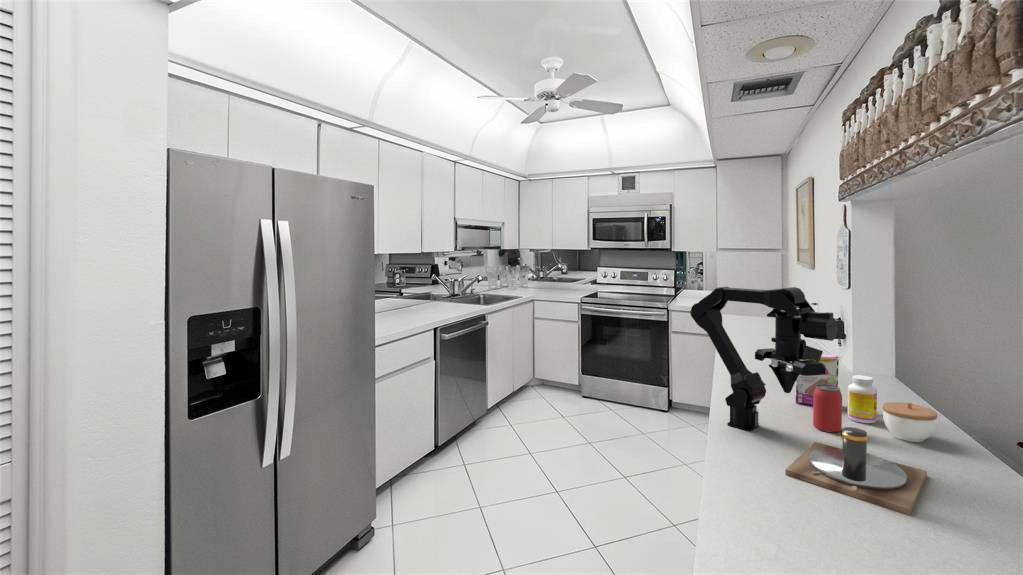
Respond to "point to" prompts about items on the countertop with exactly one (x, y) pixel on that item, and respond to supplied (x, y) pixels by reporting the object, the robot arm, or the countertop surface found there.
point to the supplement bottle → (862, 400)
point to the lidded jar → (909, 421)
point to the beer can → (827, 408)
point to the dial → (857, 464)
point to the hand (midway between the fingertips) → (787, 392)
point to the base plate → (890, 499)
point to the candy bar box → (817, 380)
